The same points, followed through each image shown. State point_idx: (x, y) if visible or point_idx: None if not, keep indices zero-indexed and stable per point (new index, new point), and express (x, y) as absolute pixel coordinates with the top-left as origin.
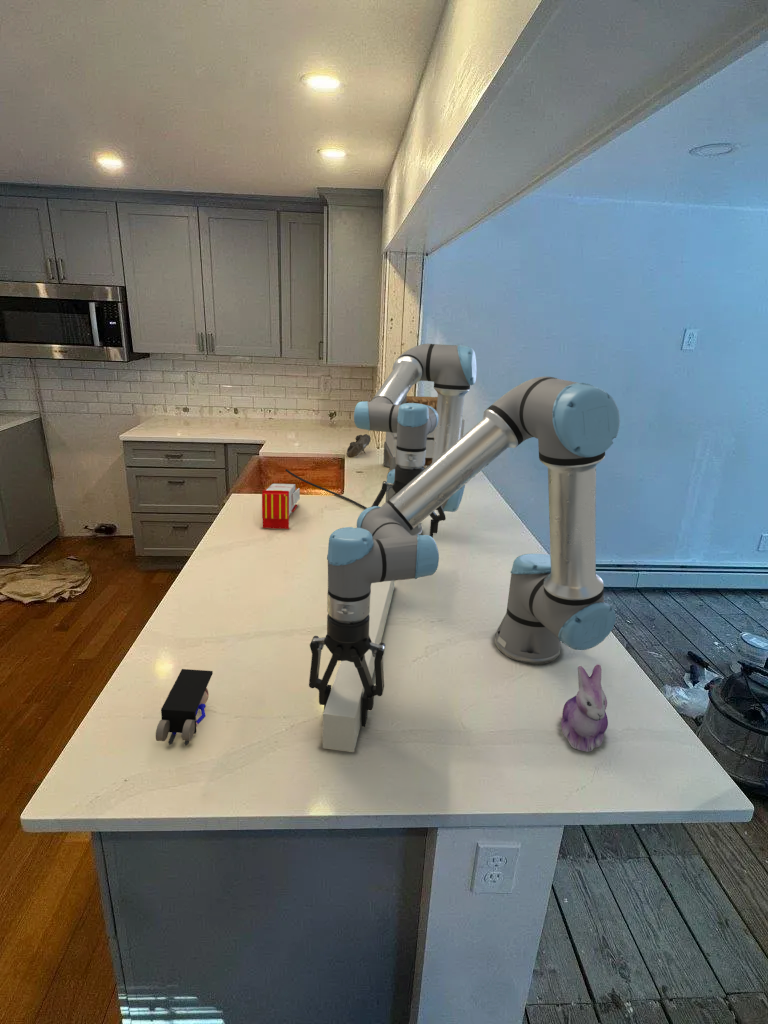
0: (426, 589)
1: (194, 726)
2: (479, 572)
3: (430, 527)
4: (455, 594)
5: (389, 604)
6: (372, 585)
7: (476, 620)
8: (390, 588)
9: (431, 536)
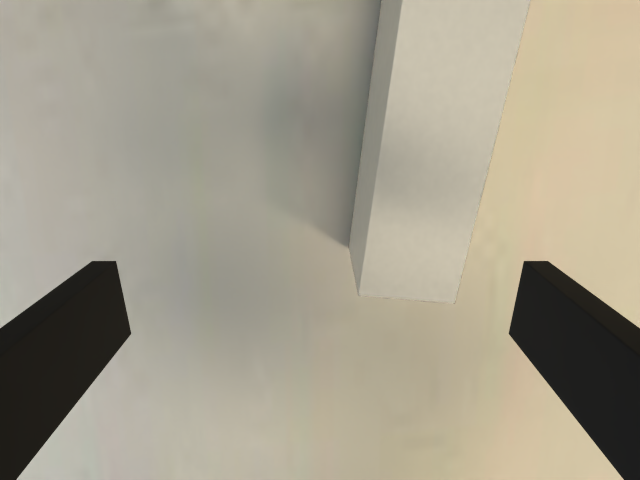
0: (228, 252)
1: None
2: None
3: (20, 412)
4: (118, 226)
5: (371, 87)
6: (494, 27)
7: (11, 19)
8: (381, 95)
9: (47, 304)
